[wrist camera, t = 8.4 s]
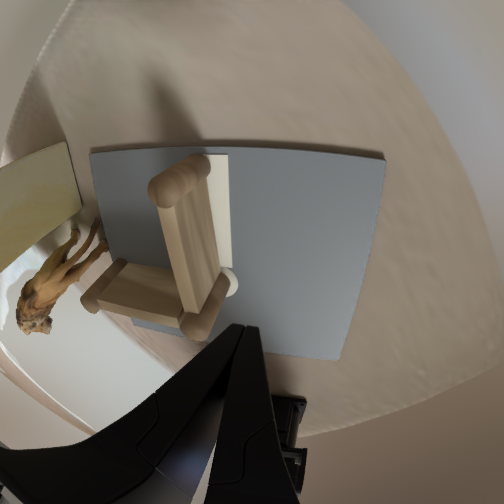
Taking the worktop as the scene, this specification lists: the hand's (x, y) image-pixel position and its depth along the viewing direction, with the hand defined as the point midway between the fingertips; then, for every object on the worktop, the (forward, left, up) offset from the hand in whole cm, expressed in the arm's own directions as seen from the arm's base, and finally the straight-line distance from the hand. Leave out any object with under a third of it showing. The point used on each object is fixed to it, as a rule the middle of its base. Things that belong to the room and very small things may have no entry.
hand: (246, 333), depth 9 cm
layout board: (-6, +5, -12) cm, 14 cm away
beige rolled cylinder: (-2, +5, -11) cm, 12 cm away
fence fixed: (-7, +10, -11) cm, 17 cm away
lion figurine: (-8, +21, -12) cm, 26 cm away
